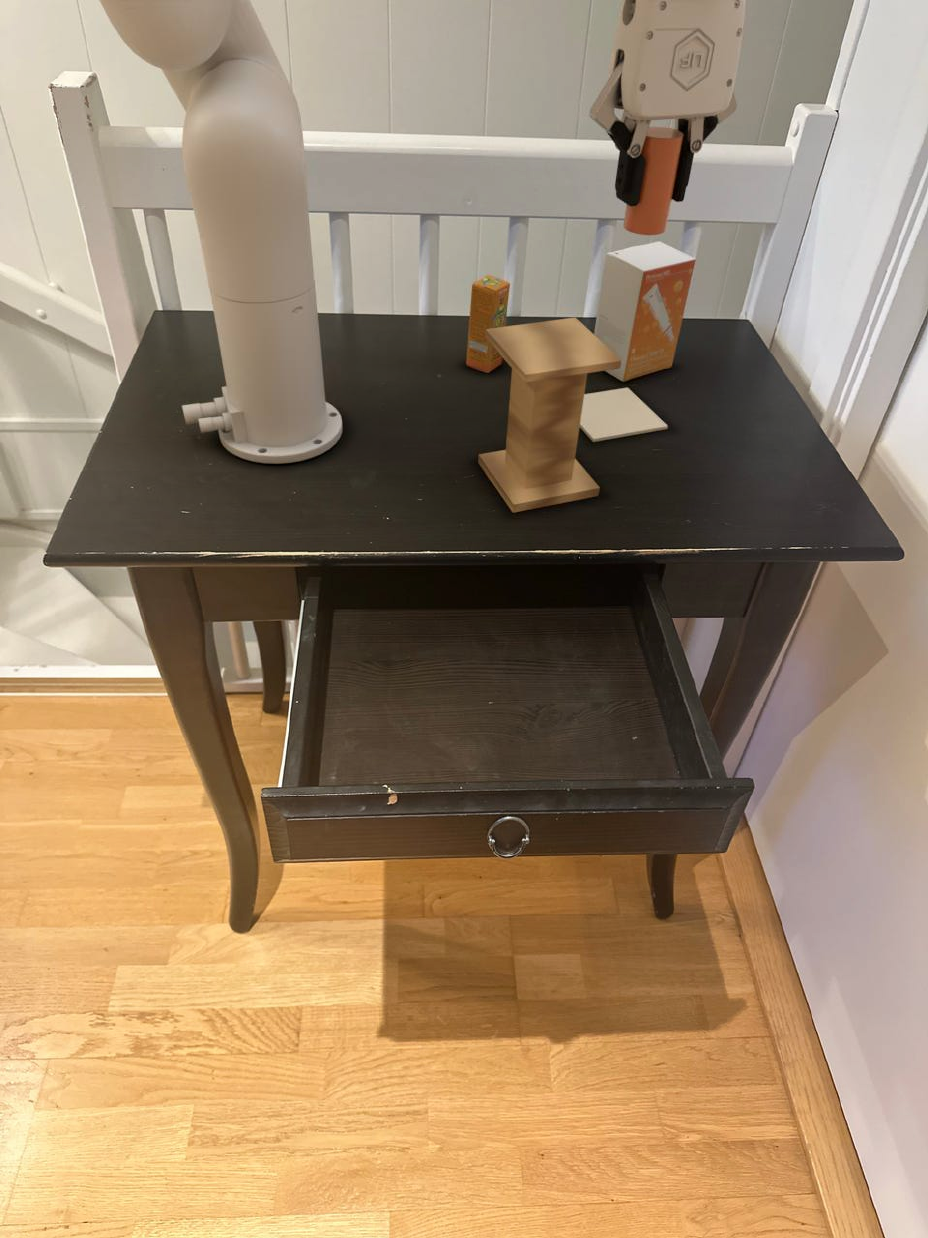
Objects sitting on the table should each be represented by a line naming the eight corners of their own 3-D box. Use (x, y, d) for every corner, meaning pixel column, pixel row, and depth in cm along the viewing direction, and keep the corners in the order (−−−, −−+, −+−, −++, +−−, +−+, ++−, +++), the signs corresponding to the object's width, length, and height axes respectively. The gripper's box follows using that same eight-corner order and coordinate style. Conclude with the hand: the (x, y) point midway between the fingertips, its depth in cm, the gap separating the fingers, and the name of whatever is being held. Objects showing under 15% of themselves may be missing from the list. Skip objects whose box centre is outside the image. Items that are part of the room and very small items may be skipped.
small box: (623, 383, 98) (643, 270, 89) (588, 361, 102) (604, 251, 93) (673, 367, 101) (698, 257, 92) (638, 347, 105) (658, 239, 96)
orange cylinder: (636, 237, 77) (652, 139, 72) (615, 222, 80) (629, 127, 74) (674, 232, 78) (692, 136, 73) (652, 218, 81) (668, 125, 75)
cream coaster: (593, 442, 88) (593, 438, 88) (556, 401, 94) (557, 398, 94) (667, 429, 91) (668, 425, 90) (627, 390, 97) (627, 387, 96)
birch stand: (512, 513, 78) (525, 374, 69) (478, 462, 84) (485, 328, 75) (598, 496, 81) (622, 359, 71) (558, 448, 87) (575, 316, 77)
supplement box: (489, 374, 98) (494, 289, 91) (465, 366, 100) (468, 281, 93) (504, 364, 100) (510, 280, 94) (480, 356, 102) (485, 272, 95)
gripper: (619, -50, 60) (586, 220, 72) (811, -50, 64) (749, 204, 77) (573, -60, 65) (549, 194, 77) (754, -60, 70) (704, 180, 82)
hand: (649, 197), depth 77 cm, fingers closed on orange cylinder, 4 cm apart
